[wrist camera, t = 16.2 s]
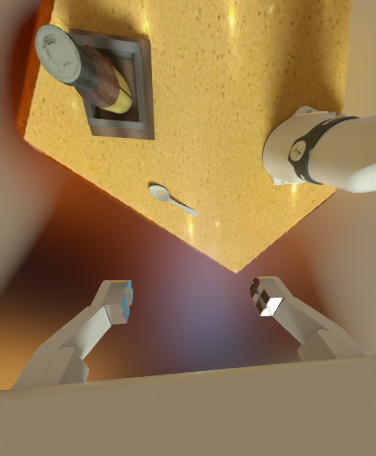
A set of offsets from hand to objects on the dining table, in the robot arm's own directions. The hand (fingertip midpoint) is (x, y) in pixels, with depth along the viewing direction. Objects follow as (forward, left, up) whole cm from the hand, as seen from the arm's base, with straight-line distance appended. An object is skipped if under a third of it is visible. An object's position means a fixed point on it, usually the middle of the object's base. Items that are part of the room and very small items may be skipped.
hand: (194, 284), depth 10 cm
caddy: (+13, -16, -37) cm, 42 cm away
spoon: (-1, +9, -38) cm, 39 cm away
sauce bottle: (+13, -15, -36) cm, 41 cm away
